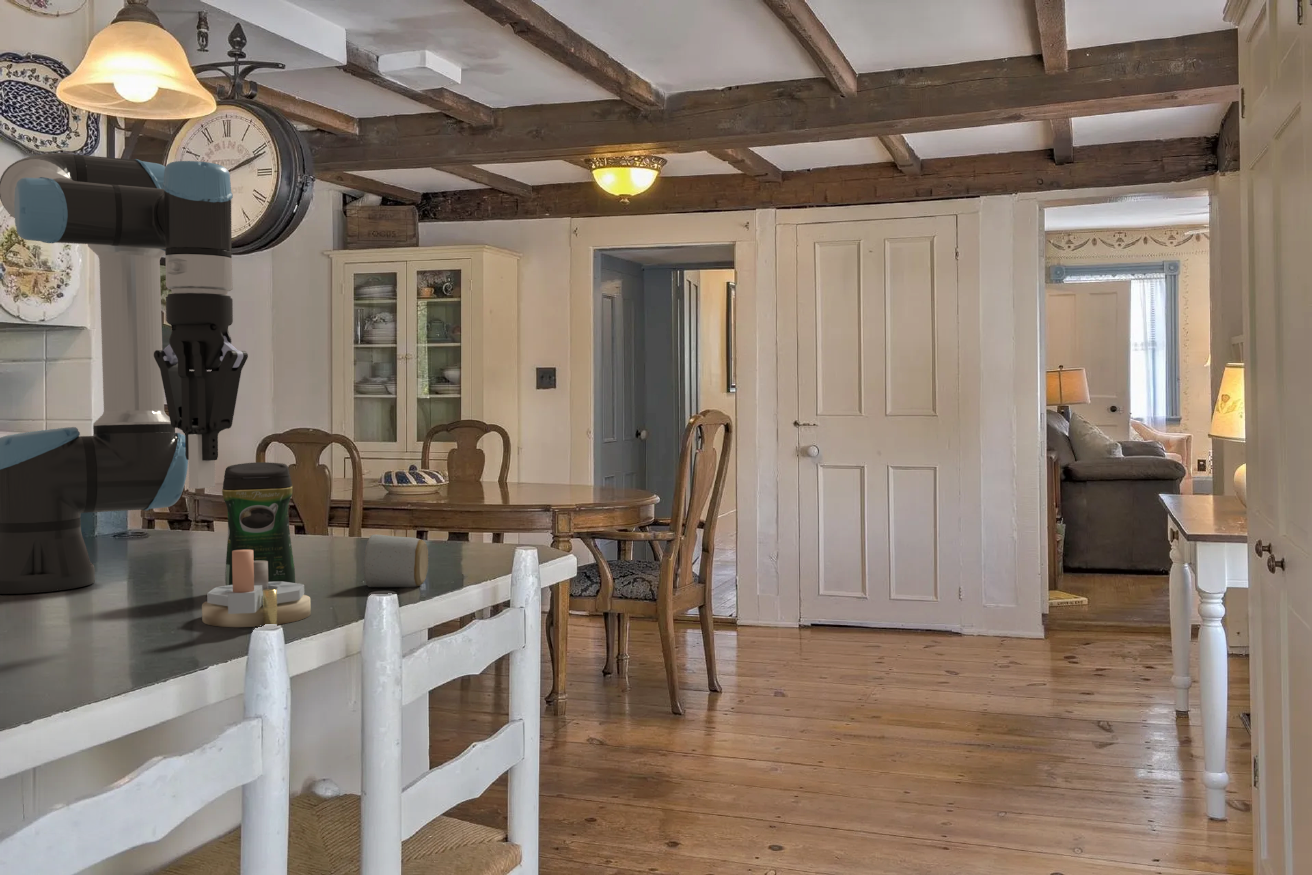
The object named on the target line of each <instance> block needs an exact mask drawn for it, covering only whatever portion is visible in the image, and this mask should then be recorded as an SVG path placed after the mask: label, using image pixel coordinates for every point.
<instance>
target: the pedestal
mask: <svg viewBox="0 0 1312 875" xmlns="http://www.w3.org/2000/svg"><path fill="white" fill-rule="evenodd" d="M254 585H262V592H263V590H265V589H268V561H262V560H259V561H254ZM311 605H312V604H311V597H310V596H309V595H307V594H304V595H303V596H302V597H301V598H300V600H295V601H289V602H284V603H278V604H277V625H285V624H288V623H289V624H290V623H294V622H297V621H301V620H303V619H304V620H305V619H307V618H308V617H310V616H311V615H312V614H311V612H312V608H311ZM201 615H202V618H201V619H202V620H201V621H202V623H204V624H205V625H208V626H214V627H220V628H221V627H222V628H253V627H254V628H256V627H255V626H257V627H261V626H260V625H264V622H263V605H262V606H261V607H260V608H259V609H258V610H257V611H256V612H255V613H238V614H228V606H223V605H217V604H211V603H207V600H206V601H204V602H202V604H201Z"/></svg>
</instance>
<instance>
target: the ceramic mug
mask: <svg viewBox="0 0 1312 875" xmlns="http://www.w3.org/2000/svg"><path fill="white" fill-rule="evenodd" d="M428 570H429V549H428V545H427V543H426V541H424V540H423V539H422V538H421V539H420V538H416V537H411V536H409V537H408V536H397V535H396V536H395V535H386V534H385V535H384V534H371V535H370V536H369V537H368V540H367V542H366V546H365V549H364V558H363V575H364V580H365V584H366V586H368V587H369V588H414V587H420V586H422V585H423V584H424V582H425V580H426V578H427V574H428Z"/></svg>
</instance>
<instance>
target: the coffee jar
mask: <svg viewBox="0 0 1312 875" xmlns="http://www.w3.org/2000/svg"><path fill="white" fill-rule="evenodd" d="M223 475H224V476H223V484H222V490H221V494H222V498H223V501H224V503H225V505H226V509H227V510H226V512H227V544H226V559H225V574H224V575H225V576H224V577H225V578H224V581H225V582H224V583H225V584H224V586H227V585H233V576H232V551H234V550H253V556H254V561H259V560H262V561H268V582H278V581H283V582H290V583H296V570H295V569H296V568H295V562H294V561H295V560H294V554H293V547H292V540H291V531H290V519H289V518H290V517H289V505H290V500H291V499H292V495H293V483H292V477H291V474H290V468H289V466H288V465H287V464H286V463H283V462H282V463H281V462H280V463H279V462H268V461H267V462H263V461H262V462H259V461H256V462H245V463H237V464H231V465H228V466H226V468H225V470H224V474H223Z"/></svg>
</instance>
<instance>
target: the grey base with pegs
mask: <svg viewBox="0 0 1312 875" xmlns="http://www.w3.org/2000/svg"><path fill="white" fill-rule="evenodd" d="M232 576H233V585H227V586H225V585H221V586H216V587H214V588H212V589H211V590H210V591H208V592H206V596H207V597H206V598H207V600H206V601H207V603H211V604H217V605H223V606H228V614H238V613H255V612H256V611H257V610H258V609H259V608H260V607H261V606H262V605H263V592H262V585H254V556H253V550H234V551H232ZM268 589H277V604H278V603H284V602H289V601H295V600H300V598H301V597H302V596H303V595H305V584H303V583H297V582H295V583H290V582H283V581H278V582H268Z"/></svg>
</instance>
